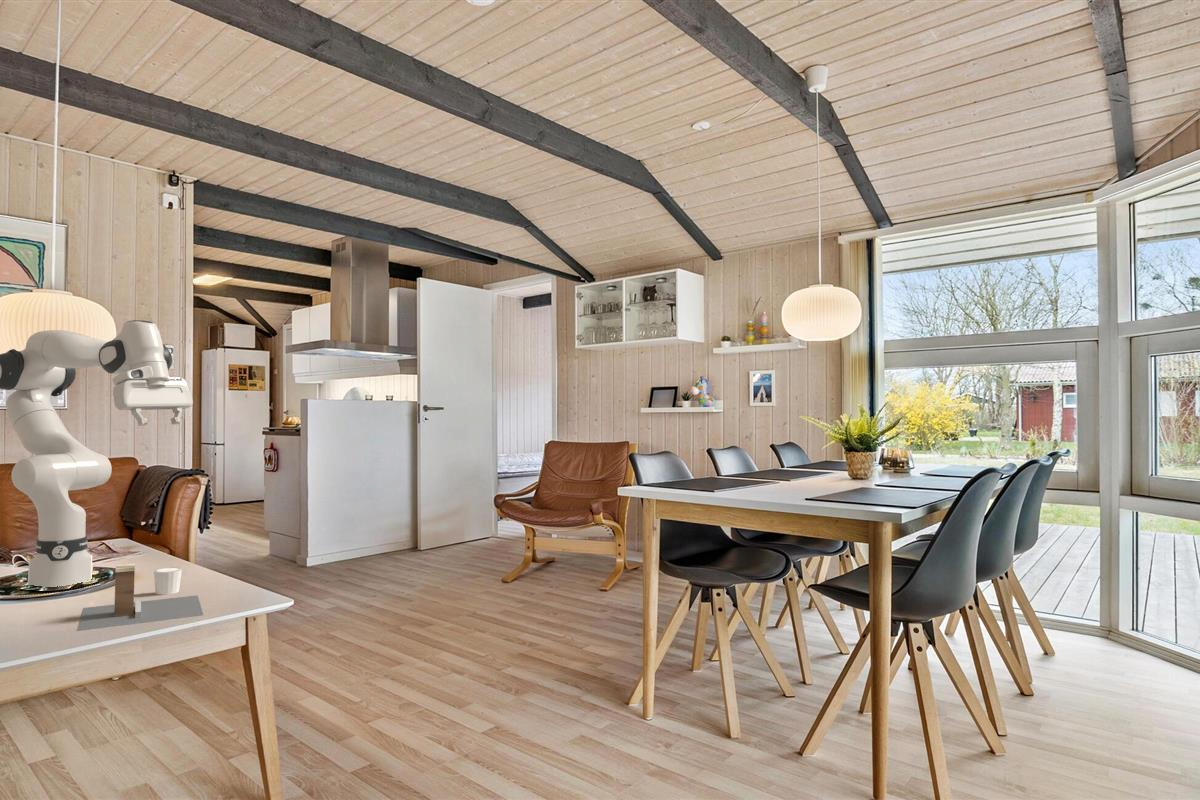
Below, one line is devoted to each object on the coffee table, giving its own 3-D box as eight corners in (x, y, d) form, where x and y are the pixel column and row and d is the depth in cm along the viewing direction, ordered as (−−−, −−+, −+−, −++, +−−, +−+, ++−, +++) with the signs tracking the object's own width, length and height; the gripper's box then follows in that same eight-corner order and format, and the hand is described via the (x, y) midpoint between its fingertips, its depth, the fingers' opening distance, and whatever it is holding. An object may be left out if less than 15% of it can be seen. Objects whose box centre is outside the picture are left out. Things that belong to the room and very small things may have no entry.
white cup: (168, 598, 198) (168, 573, 198) (147, 596, 199) (147, 571, 200) (187, 592, 205) (187, 567, 205) (166, 590, 206) (167, 566, 206)
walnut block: (114, 612, 182) (116, 565, 182) (133, 610, 184) (134, 563, 184) (114, 617, 178) (115, 569, 178) (133, 615, 180) (134, 567, 180)
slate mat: (83, 610, 185) (83, 602, 185) (197, 597, 199) (197, 589, 199) (77, 633, 167) (77, 624, 167) (203, 617, 181) (203, 609, 181)
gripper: (178, 380, 206) (187, 426, 205) (105, 378, 188) (115, 429, 186) (192, 374, 204) (202, 420, 203) (120, 371, 185) (130, 422, 184)
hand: (160, 424), depth 194 cm, fingers open, 8 cm apart
